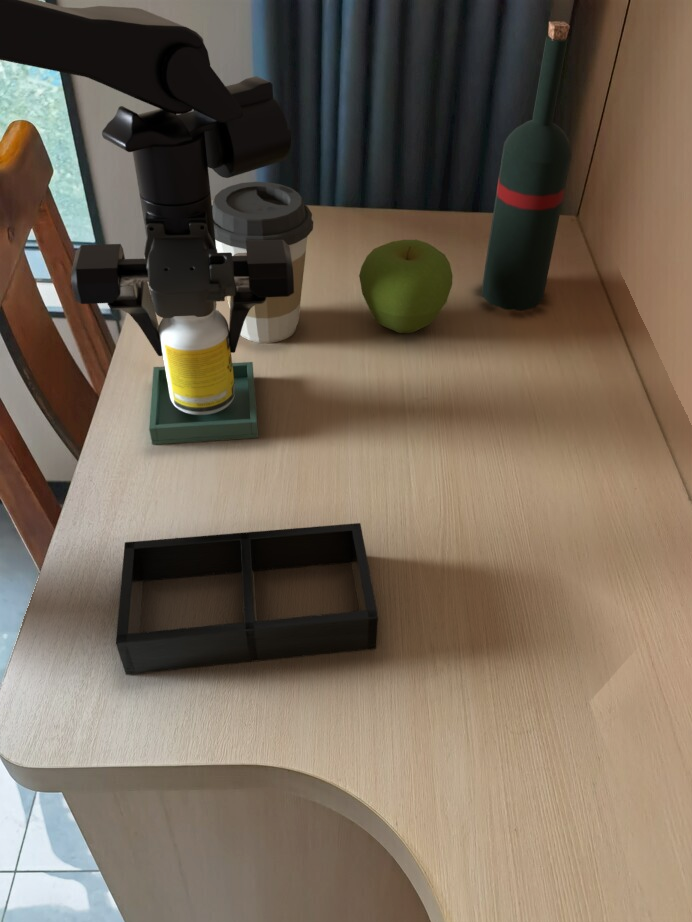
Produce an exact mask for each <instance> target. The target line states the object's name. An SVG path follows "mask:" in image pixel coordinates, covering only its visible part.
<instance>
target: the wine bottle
mask: <svg viewBox="0 0 692 922" xmlns="http://www.w3.org/2000/svg"><path fill="white" fill-rule="evenodd" d="M570 28H571V25H569V23H567V22H566V21H548V35H546V36H545V41H544V42H545V43H544V49H543V53H542V59H541V66H540V73H539V77H538V84H537V88H536V89H537V90H536V95H535V101H534V108H533V113H532V119H530V120H527V121H525V122H524V123H522V124H520V125H518V126H517V127H515V128H514V129H513V130H512V131H511V132H510V133H509V134H508V136H507V137H506V139H505V140H504V142H503V148H502V154H501V161H500V168H499V172H498V179H497V186H496V193H495V200H494V205H493V212H492V219H491V226H490V232H489V239H488V245H487V251H486V258H485V264H484V270H483V278H482V284H481V296H482V298H483V299H484V300H486V302H488V303H489V304H490V305H492V306H494V307H497V308H501V309H502V310H508V311H509V310H510V311H526V310H530V309H534V308H537V306H539V305H540V304H541V303H542V302H543V301H544V296H545V291H546V287H547V286H546V285H547V281H548V277H549V271H550V265H551V261H552V255H553V251H554V245H555V240H556V236H557V230H558V226H559V220H560V215H561V210H562V207H563V201H564V195H565V191H566V190H565V189H566V185H567V180H568V175H569V170H570V165H571V160H572V150H571V145H570V141H569V140H570V139H569V138H568V136H567V134H566V131H564V130H563V129H562V128H561V127H560V126H559V125H557V124H556V123H555V122H554V117H555V112H556V107H557V102H558V95H559V91H560V84H561V81H562V80H561V79H562V74H563V68H564V62H565V58H566V52H567V46H568V42H569V39H568V34H569V31H570Z"/></svg>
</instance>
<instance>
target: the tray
mask: <svg viewBox="0 0 692 922" xmlns="http://www.w3.org/2000/svg"><path fill="white" fill-rule="evenodd" d="M232 366H233V375H234V384H235V396H234V399H233V401H232V402H231V403H230V405H229V406H227V407H226V408H225V409H223V410H221V411H219V412H216V413H213V414H208V415H193V414H188V413H185V412H183V411H181V410H179V409H178V408H176V407H175V406H174V404H173V403H172V401H171V399H170V394H169V388H168V382H167V376H166V371H165V365H164V366H153V370H152V381H151V382H152V383H151V396H150V408H149V423H148V430H149V436H150V441H151V445H167V444H168V445H169V444H170V445H171V444H184V443H198V442H213V441H229V440H244V439H259V427H258V415H257V414H258V413H257V402H256V401H257V400H256V390H255V376H254V375H255V374H254V364H253V361H244V362H232Z"/></svg>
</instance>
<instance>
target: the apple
mask: <svg viewBox="0 0 692 922" xmlns="http://www.w3.org/2000/svg"><path fill="white" fill-rule="evenodd" d="M358 277H359V283H360V288H361V294H362V297H363V299H364V301H365V302H366V304H367V306H368V308H369V309H368V310H370V313H371V314H372V317H373V319H374V321H376V322H377V323H378V324H380V326H382V327H384V328H387V329H388V330H391V331H394V332H395V333H398V334H412V333H414V332H417V331H419V330H421V329H423V328H425V327H428V326H429V325H430V324H431V323H433V322H434V321H435V320H436V318H437V316H438V315H439V314H440V312H441V311H442V309H443V308H444V306H445V305H446V304H447V303H448V299H449V296H450V293H451V290H452V287H453V271H452V267H451V262H450V261H449V260H448V258H447V256H446V254H445V253H443V252H442V251H440V250H439V249H437V248H436V247H435V246H433V245H431V244H430V243H429V242H426V241H422V240H420V239H400V240H394V241H389V242H388V243H385V244H382V245H380V246H378V247H375V248H373V249H372V250H371V251H370V252H369V253H368V254H367V255H366V257H365V259H364V261H363V263H362V265H361V266H360V271H359V275H358Z"/></svg>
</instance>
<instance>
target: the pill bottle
mask: <svg viewBox="0 0 692 922" xmlns="http://www.w3.org/2000/svg"><path fill="white" fill-rule="evenodd" d="M158 325H159V338H160V343H161V348H162V354H163V356H162V359H163V364H164V366H165V371H166V376H167V382H168V388H169V394H170V399H171V401H172V403H173V404H174V406H175V407H176V408H178V409H179V410H181V411H183V412H185V413H188V414H193V415H208V414H213V413H216V412H219V411H221V410H223V409H225V408H226V407H227V406H229V405H230V403H231V402H232V401H233V399H234V396H235V384H234V375H233V366H232V363H233V358H232V353H231V351H230V340H229V323H228V320H227V319H226V317H225V315H223V313H221V312H220V311H219V310H217V301H215V302H214V309H213V312H212V313H211V314H210V315H208V316H205V317H196V316H175V317H173V318H162V319H161V320H160V322H159V323H158Z"/></svg>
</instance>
